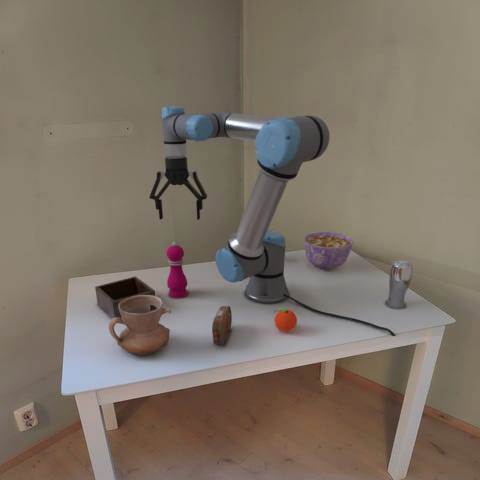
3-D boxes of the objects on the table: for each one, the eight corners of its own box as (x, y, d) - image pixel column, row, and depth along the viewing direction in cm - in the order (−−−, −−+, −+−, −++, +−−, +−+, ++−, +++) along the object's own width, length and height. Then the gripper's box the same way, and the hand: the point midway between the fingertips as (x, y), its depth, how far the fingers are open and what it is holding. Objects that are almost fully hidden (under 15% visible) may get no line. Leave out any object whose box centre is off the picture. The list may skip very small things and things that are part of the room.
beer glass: (409, 304, 158) (417, 264, 151) (400, 311, 154) (408, 270, 146) (390, 298, 162) (397, 258, 155) (381, 304, 158) (388, 264, 151)
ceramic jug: (167, 329, 142) (163, 288, 135) (180, 352, 131) (176, 309, 124) (108, 341, 136) (101, 298, 129) (117, 366, 125) (109, 321, 118)
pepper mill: (179, 300, 160) (175, 246, 150) (163, 295, 164) (159, 242, 154) (192, 293, 166) (189, 240, 156) (176, 288, 169) (172, 236, 159)
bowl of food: (310, 277, 178) (313, 249, 173) (295, 259, 195) (297, 233, 190) (358, 273, 182) (362, 246, 176) (338, 256, 199) (341, 230, 193)
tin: (221, 350, 132) (221, 325, 128) (211, 349, 132) (210, 324, 128) (232, 325, 145) (232, 301, 141) (223, 324, 145) (222, 300, 141)
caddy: (156, 308, 155) (155, 290, 151) (115, 321, 147) (112, 302, 144) (137, 293, 165) (135, 276, 162) (97, 304, 157) (94, 286, 154)
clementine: (267, 329, 142) (267, 309, 139) (279, 321, 147) (280, 301, 144) (287, 338, 138) (289, 317, 134) (300, 329, 143) (302, 309, 139)
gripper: (213, 155, 157) (215, 216, 167) (142, 155, 158) (148, 215, 167) (211, 158, 150) (213, 221, 160) (136, 158, 151) (143, 221, 161)
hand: (179, 218), depth 164 cm, fingers open, 13 cm apart
